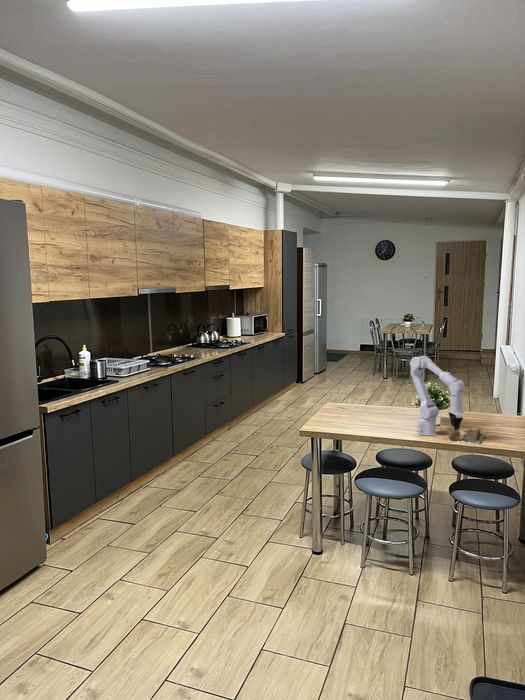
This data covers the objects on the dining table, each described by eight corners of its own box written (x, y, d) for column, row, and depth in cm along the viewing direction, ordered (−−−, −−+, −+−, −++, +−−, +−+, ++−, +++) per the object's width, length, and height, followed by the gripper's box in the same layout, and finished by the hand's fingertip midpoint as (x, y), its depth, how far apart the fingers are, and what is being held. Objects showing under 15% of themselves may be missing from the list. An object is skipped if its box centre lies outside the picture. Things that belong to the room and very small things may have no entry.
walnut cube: (450, 441, 292) (450, 432, 292) (448, 438, 297) (449, 429, 297) (460, 441, 292) (460, 432, 291) (458, 439, 297) (458, 430, 296)
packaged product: (480, 436, 286) (460, 433, 291) (479, 445, 287) (459, 442, 292) (485, 428, 302) (466, 425, 307) (484, 436, 302) (465, 434, 307)
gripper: (466, 406, 284) (465, 431, 286) (461, 400, 298) (460, 424, 300) (452, 405, 285) (451, 431, 287) (447, 399, 299) (446, 424, 301)
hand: (455, 427), depth 293 cm, fingers open, 7 cm apart
